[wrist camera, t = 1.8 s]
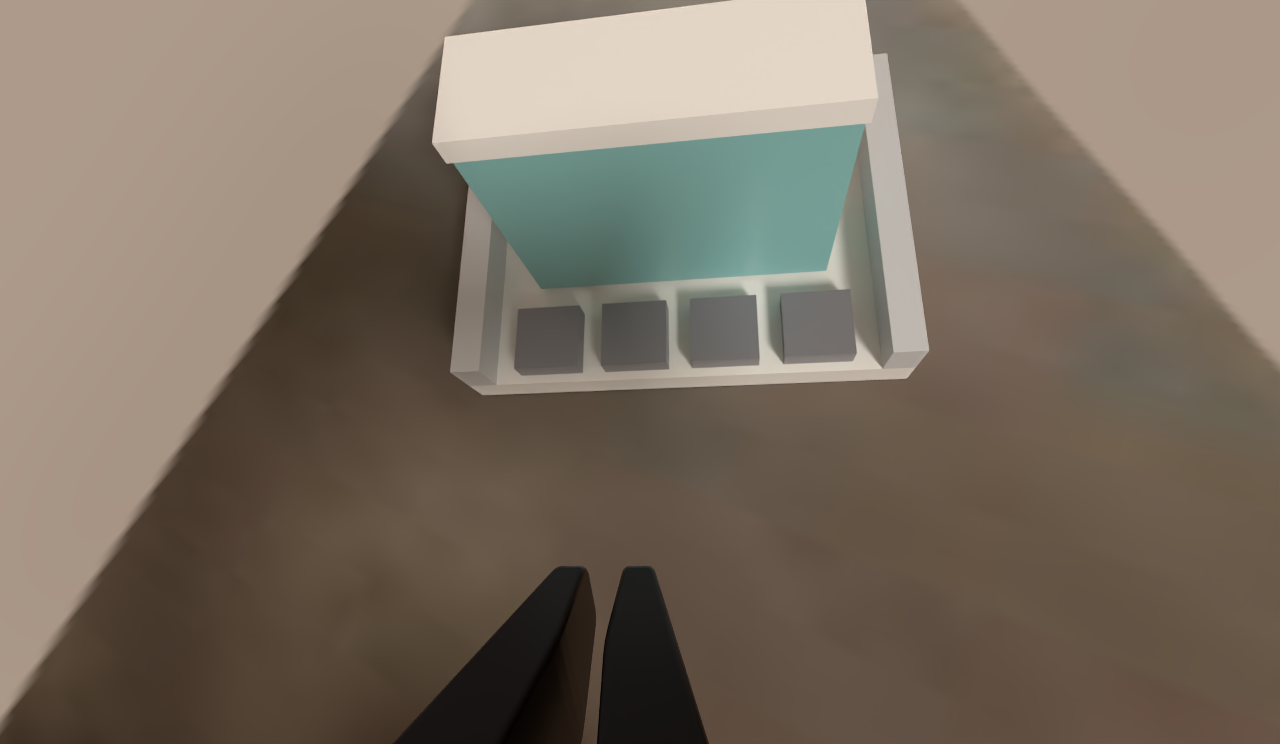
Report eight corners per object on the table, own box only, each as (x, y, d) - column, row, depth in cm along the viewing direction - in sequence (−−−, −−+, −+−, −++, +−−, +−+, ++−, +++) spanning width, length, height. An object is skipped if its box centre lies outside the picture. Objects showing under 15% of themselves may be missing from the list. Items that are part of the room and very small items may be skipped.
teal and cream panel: (829, 273, 22) (878, 98, 14) (538, 291, 23) (431, 143, 15) (821, 191, 23) (863, -16, 15) (542, 214, 24) (444, 36, 16)
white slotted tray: (906, 378, 22) (929, 351, 19) (482, 395, 24) (450, 372, 21) (871, 108, 25) (886, 53, 22) (503, 145, 27) (477, 98, 25)
